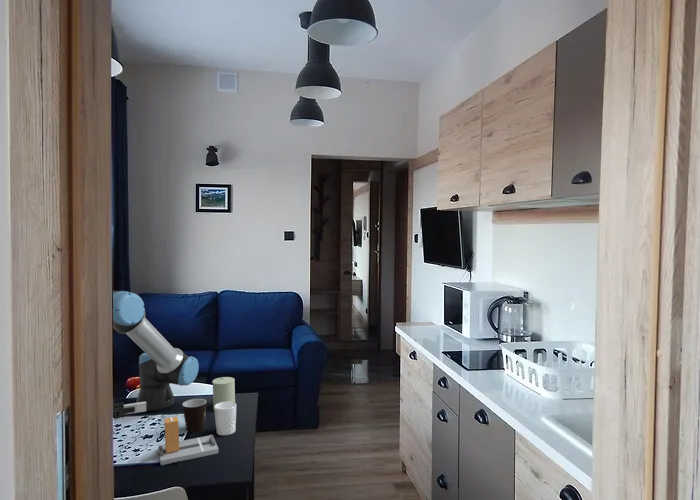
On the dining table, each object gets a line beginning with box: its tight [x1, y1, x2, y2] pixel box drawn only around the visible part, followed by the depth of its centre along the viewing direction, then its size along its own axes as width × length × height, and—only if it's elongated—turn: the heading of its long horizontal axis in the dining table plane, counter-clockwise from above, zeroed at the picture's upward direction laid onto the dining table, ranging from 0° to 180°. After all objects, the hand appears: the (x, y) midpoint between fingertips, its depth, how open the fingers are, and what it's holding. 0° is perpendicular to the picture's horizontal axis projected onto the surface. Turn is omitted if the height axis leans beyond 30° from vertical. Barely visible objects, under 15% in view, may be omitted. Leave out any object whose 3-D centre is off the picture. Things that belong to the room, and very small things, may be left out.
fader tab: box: [164, 416, 180, 453], centre depth 158 cm, size 4×4×10 cm
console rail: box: [157, 434, 219, 466], centre depth 160 cm, size 12×18×2 cm, turn 115°
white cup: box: [213, 401, 237, 436], centre depth 175 cm, size 8×8×10 cm
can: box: [211, 376, 236, 411], centre depth 200 cm, size 9×9×12 cm
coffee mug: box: [182, 398, 208, 433], centre depth 180 cm, size 12×9×10 cm
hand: (146, 406), depth 154 cm, fingers closed
